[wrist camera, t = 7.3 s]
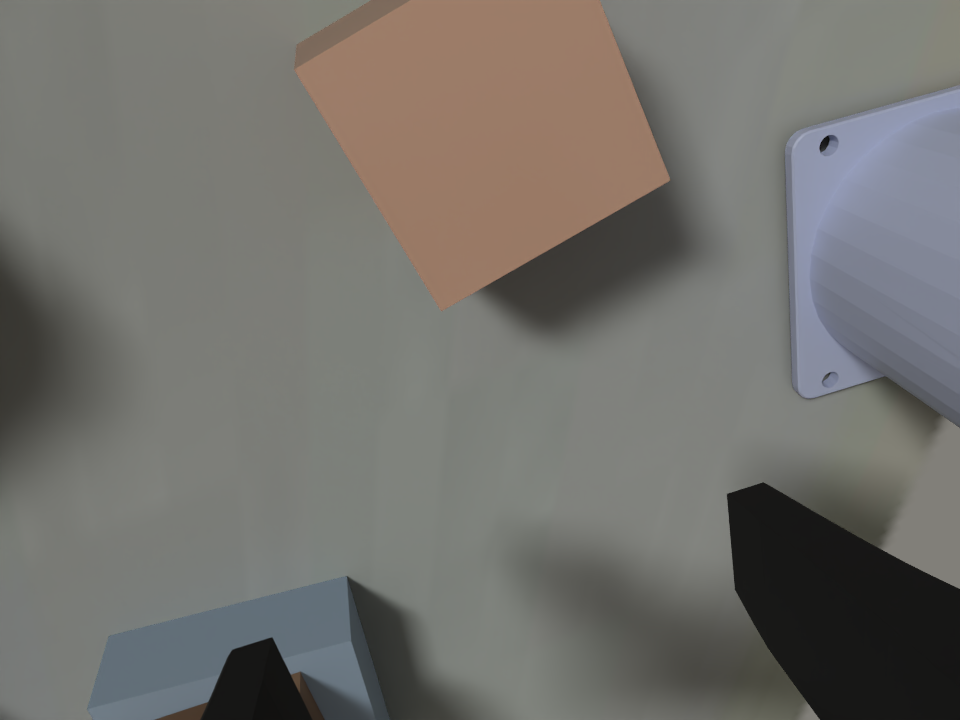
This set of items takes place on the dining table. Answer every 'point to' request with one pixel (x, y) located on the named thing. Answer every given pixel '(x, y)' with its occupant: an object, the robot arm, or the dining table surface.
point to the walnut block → (192, 716)
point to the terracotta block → (482, 127)
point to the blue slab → (213, 634)
